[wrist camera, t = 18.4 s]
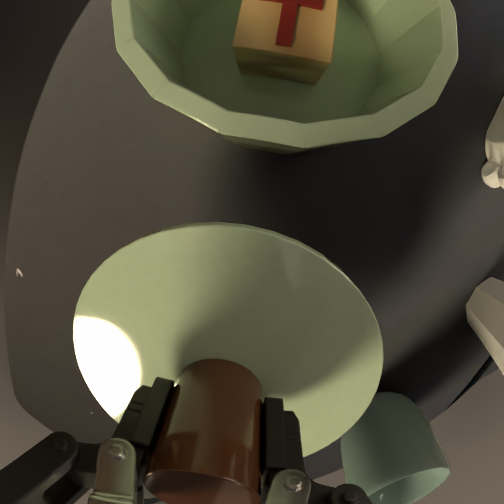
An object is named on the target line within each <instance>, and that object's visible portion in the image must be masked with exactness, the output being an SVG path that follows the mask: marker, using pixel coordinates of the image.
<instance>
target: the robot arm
mask: <svg viewBox="0 0 504 504" xmlns="http://www.w3.org/2000/svg"><path fill="white" fill-rule="evenodd" d="M173 390H174V380H170V379H166V378H161V377H156V378H155V381H154V383H153V385H152V387H149V386H146V385H142V386H141V387H140V388H138V389H137V390H136V391H134V393H133V395H132V397H131V399H130V402H129V404H128V406H127V408H126V410H125V412H124V414H123V416H122V418H121V420H120V422H119V424H118V426H117V428H116V430H115V433H114V434H113V436H112V437H111V438H110V439H107V440H105V441H104V442H103V443H100V444H89V443H80V442H77V441H76V439H75V438H74V437H73V436H72V435H70V434H68V433H66V432H54V433H52V434H50V435H49V436H47V437H46V438H45V439H43V440H42V441H41V442H39V443H38V444H36V445H35V446H34V447H32V448H31V449H30V450H29V451H27V452H25V453H24V454H23V455H21V456H20V457H19V458H17V459H16V460H14V461H13V462H12V463H10V464H9V465H8V466H6V467H5V468H3V469H2V470H0V504H74V503H75V502H76V501H77V500H78V499H79V498H80V497H81V496H83V495H84V494H85V493H86V492H87V491H88V490H89V489H90V488H93V489H94V491H93V493H92V494H90V495H89V498H88V504H144V484H143V477H144V474H145V471H146V468H147V465H148V462H149V459H150V456H151V453H152V450H153V447H154V444H155V441H156V438H157V435H158V432H159V429H160V426H161V424H162V421H163V418H164V415H165V412H166V409H167V407H168V404H169V401H170V398H171V395H172V392H173ZM260 504H373V503H372V502H371V500H370V499H369V497H368V496H367V494H366V493H365V492H364V490H363V489H362V488H361V487H359V486H357V485H355V484H342V485H340V486H338V487H336V488H334V487H329V486H325V485H321V484H318V483H316V482H314V481H312V480H311V479H310V478H309V477H308V476H307V474H306V472H305V470H304V462H303V452H302V442H301V433H300V424H299V420H298V418H297V416H296V415H295V413H294V412H293V411H285V410H284V405H283V399H282V398H273V397H265V398H264V401H263V410H262V475H261V502H260Z"/></svg>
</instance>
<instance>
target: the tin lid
mask: <svg viewBox="0 0 504 504" xmlns="http://www.w3.org/2000/svg"><path fill="white" fill-rule="evenodd" d="M73 341H74V349H75V354H76V358H77V361H78V365H79V368H80V370H81V372H82V375H83V377H84V380H85V381H86V383H87V385H88V387H89V389H90V390H91V392H92V394H93V395H94V396H95V398H96V399H97V401H98V402H99V403H100V405H101V406H102V407H103V408H104V409H105V410H106V411H107V413H108V414H109V415H110V416H111V417H112V418H113V419H114V420H115V421H116V422H118V423H119V422H120V420H121V418H122V416H123V414H124V412H125V410H126V408H127V406H128V404H129V402H130V399H131V397H132V395H133V393H134V391H136V390H137V389H138V388H140V387H141V386H142V385H146V386H149V387H152V385H153V383H154V381H155V378H156V377H161V378H166V379H170V380H174V390H173V392H172V395H171V398H170V401H169V404H168V407H167V409H166V412H165V415H164V418H163V421H162V424H161V426H160V429H159V432H158V435H157V438H156V441H155V444H154V447H153V450H152V453H151V456H150V459H149V462H148V465H147V468H146V471H145V474H144V477H143V484H144V486H145V488H146V489H147V490H148V491H149V492H150V493H151V494H152V495H154V496H155V497H157V498H158V499H160V500H162V501H163V502H166V503H168V504H260V502H261V475H262V410H263V401H264V398H265V397H273V398H282V399H283V405H284V410H285V411H293V412H294V413H295V415H296V416H297V418H298V420H299V424H300V433H301V442H302V452H303V457H305V456H308V455H310V454H312V453H315V452H317V451H318V450H320V449H322V448H324V447H326V446H328V445H329V444H331V443H332V442H334V441H335V440H337V439H338V438H339V437H341V436H342V435H343V434H344V433H345V432H347V431H348V430H349V429H350V428H351V427H352V426H353V425H354V424H355V423H356V422H357V421H358V420H359V418H360V417H361V416H362V415H363V413H364V412H365V411H366V409H367V408H368V406H369V405H370V403H371V401H372V399H373V397H374V395H375V393H376V391H377V388H378V385H379V382H380V378H381V375H382V367H383V358H384V357H383V341H382V337H381V333H380V328H379V324H378V322H377V320H376V317H375V315H374V313H373V311H372V309H371V306H370V305H369V303H368V302H367V300H366V299H365V297H364V296H363V295H362V293H361V292H360V290H359V289H358V287H357V286H356V284H355V283H354V282H353V281H352V280H351V279H350V278H349V277H348V276H347V275H346V274H345V273H344V272H343V271H342V270H341V269H340V268H339V267H338V266H337V265H335V264H334V263H333V262H331V261H330V260H329V259H327V258H326V257H325V256H324V255H322V254H321V253H319V252H317V251H316V250H314V249H312V248H310V247H308V246H307V245H305V244H303V243H301V242H299V241H297V240H295V239H292V238H290V237H287V236H285V235H282V234H279V233H277V232H274V231H271V230H266V229H262V228H258V227H254V226H250V225H245V224H235V223H225V222H199V223H188V224H182V225H176V226H171V227H166V228H163V229H160V230H157V231H154V232H151V233H148V234H145V235H143V236H141V237H139V238H138V239H136V240H134V241H132V242H130V243H128V244H126V245H125V246H123V247H122V248H120V249H119V250H118V251H116V252H115V253H114V254H112V255H111V256H110V257H108V258H107V259H106V260H105V261H104V262H103V263H102V264H101V265H100V266H99V267H98V268H97V269H96V270H95V272H94V273H93V274H92V275H91V277H90V278H89V280H88V282H87V283H86V285H85V286H84V288H83V290H82V293H81V295H80V298H79V300H78V303H77V306H76V311H75V316H74V321H73Z"/></svg>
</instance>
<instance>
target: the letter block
mask: <svg viewBox="0 0 504 504" xmlns="http://www.w3.org/2000/svg"><path fill="white" fill-rule="evenodd" d="M337 10H338V0H242V3H241V7H240V12H239V16H238V20H237V25H236V29H235V34H234V38H233V43H232V48H233V51H234V54H235V58H236V61H237V65H238V68H239V72H240V73H241V74H249V75H256V76H264V77H270V78H277V79H283V80H288V81H294V82H299V83H304V84H309V85H314V86H315V85H316V84H317V82H318V81H319V79H320V78H321V77H322V75H323V74H324V72H325V71H326V69H327V68H328V67H329V65H330V64H331V62H332V56H333V47H334V39H335V30H336V20H337Z"/></svg>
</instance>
